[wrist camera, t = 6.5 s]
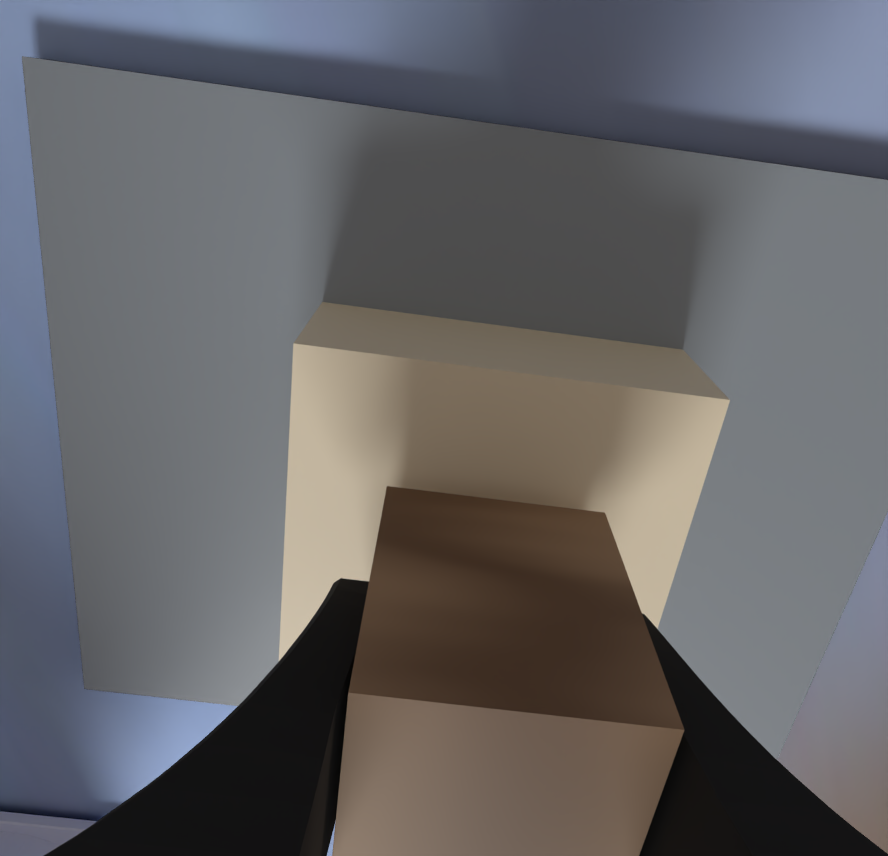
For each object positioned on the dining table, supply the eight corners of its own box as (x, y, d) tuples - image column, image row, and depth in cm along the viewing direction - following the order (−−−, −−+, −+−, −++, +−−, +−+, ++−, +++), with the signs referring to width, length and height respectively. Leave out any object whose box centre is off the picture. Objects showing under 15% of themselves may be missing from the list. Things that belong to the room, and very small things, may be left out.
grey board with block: (94, 673, 21) (26, 780, 17) (38, 58, 14) (-87, 43, 11) (766, 748, 21) (822, 863, 18) (1005, 196, 15) (1160, 221, 12)
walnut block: (368, 657, 15) (327, 908, 10) (386, 485, 13) (347, 693, 8) (561, 679, 15) (609, 937, 10) (605, 512, 13) (685, 729, 8)
